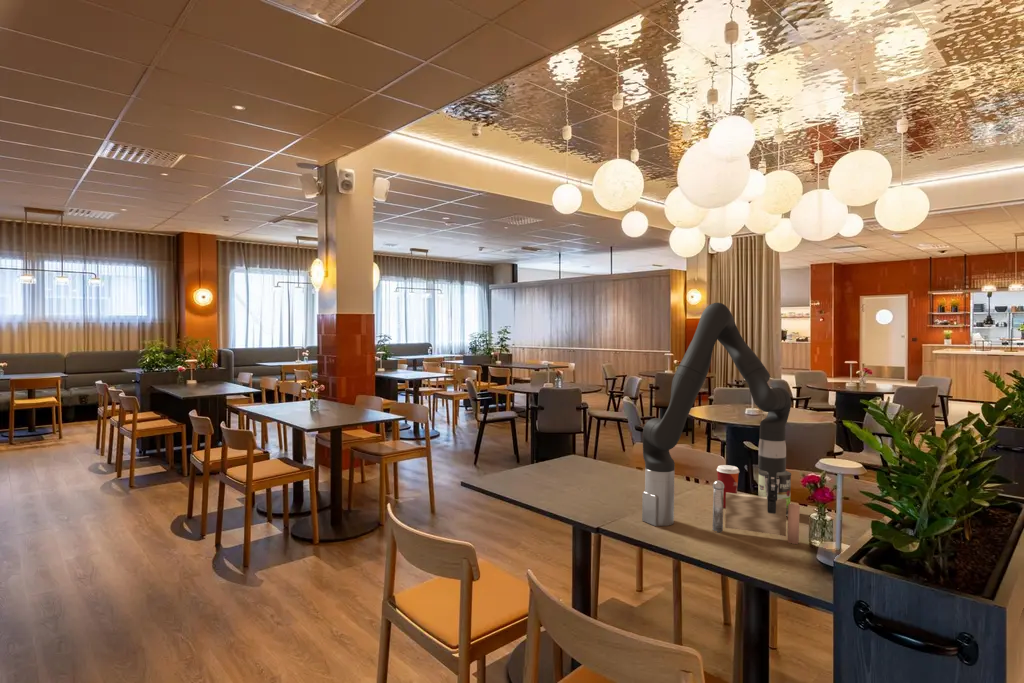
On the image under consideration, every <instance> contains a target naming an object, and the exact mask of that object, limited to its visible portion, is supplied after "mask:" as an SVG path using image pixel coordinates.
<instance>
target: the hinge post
mask: <svg viewBox="0 0 1024 683" xmlns="http://www.w3.org/2000/svg"><path fill="white" fill-rule="evenodd" d="M712 492H713V493H712V531H713V530H714V531H717V532H716V533H719V532H720V533H723V532H722V531H724V508H723V494H724V484H723V482H721V481H719V480H718V479H717V480H715V481H714V482H713V483H712ZM714 531H713V532H714Z"/></svg>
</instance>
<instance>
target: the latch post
mask: <svg viewBox="0 0 1024 683" xmlns="http://www.w3.org/2000/svg"><path fill="white" fill-rule="evenodd" d="M800 513H801V512H800V504H797V503H790V504H788V516H787V543H789V544H791V543H792V544H793V545H799V544H798V543H800Z"/></svg>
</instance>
